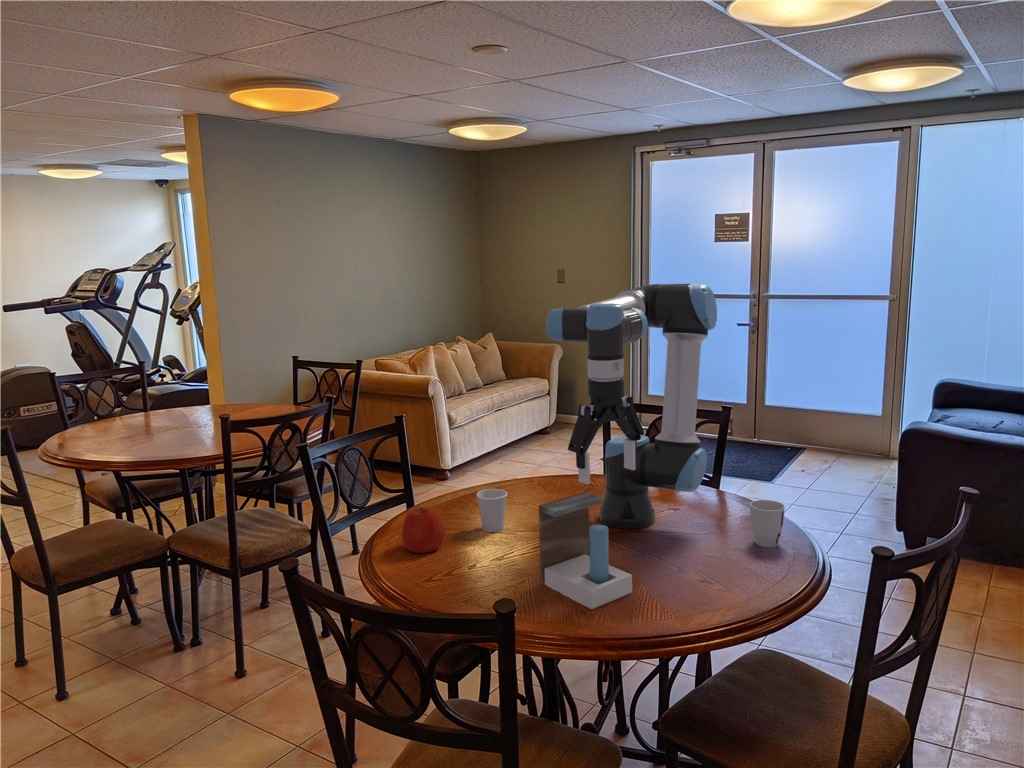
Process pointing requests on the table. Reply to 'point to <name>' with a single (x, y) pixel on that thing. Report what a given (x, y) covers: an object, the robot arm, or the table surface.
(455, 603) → the table surface
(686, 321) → the robot arm
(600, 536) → the peg
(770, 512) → the cup
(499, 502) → the dixie cup
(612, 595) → the socket
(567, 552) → the awning
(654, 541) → the table surface
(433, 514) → the apple
